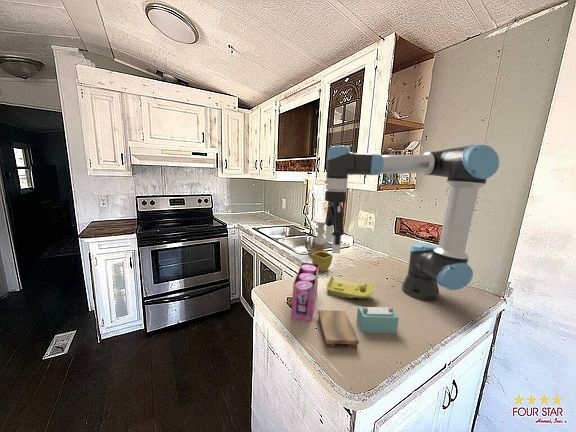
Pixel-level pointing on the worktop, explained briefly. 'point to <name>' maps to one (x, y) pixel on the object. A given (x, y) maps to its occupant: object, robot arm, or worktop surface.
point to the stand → (337, 329)
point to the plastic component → (349, 289)
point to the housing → (377, 320)
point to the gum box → (305, 292)
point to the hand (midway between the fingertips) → (331, 247)
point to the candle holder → (319, 237)
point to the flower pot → (322, 260)
